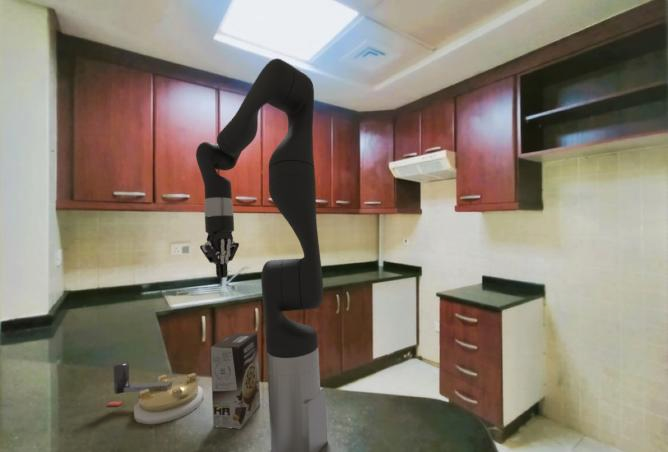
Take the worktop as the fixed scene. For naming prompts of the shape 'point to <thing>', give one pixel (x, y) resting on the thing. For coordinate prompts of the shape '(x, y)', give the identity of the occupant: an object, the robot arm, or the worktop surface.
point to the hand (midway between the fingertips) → (222, 277)
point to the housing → (167, 411)
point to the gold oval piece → (156, 389)
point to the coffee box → (235, 380)
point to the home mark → (114, 403)
